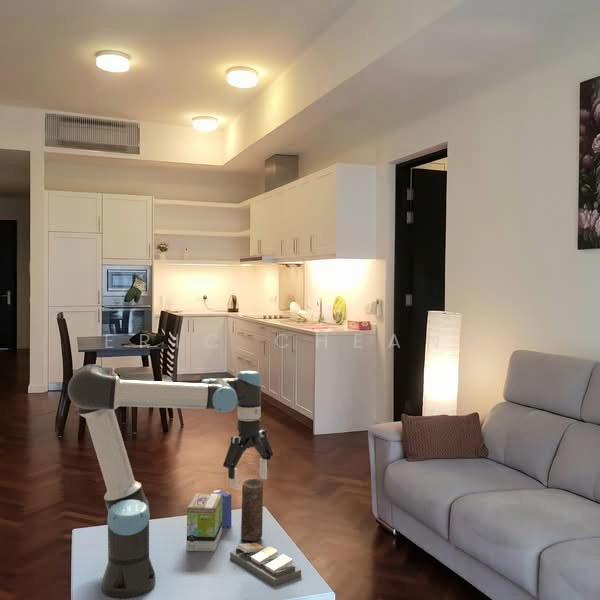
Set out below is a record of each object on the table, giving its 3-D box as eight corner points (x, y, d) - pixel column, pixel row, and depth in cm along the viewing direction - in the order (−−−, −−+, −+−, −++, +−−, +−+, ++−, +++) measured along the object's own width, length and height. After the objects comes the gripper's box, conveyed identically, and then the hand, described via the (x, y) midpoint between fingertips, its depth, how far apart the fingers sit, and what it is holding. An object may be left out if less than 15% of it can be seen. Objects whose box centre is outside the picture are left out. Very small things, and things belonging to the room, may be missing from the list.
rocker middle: (260, 565, 193) (259, 561, 193) (251, 560, 197) (250, 556, 197) (278, 554, 197) (277, 550, 197) (269, 549, 201) (268, 546, 201)
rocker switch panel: (274, 586, 185) (274, 575, 185) (230, 558, 203) (230, 548, 203) (301, 576, 191) (301, 565, 191) (255, 549, 210) (255, 540, 210)
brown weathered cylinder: (265, 536, 221) (265, 479, 220) (258, 544, 214) (258, 486, 213) (245, 533, 223) (245, 477, 222) (237, 542, 216) (237, 484, 215)
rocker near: (274, 574, 187) (274, 570, 187) (265, 568, 191) (264, 564, 191) (292, 562, 192) (292, 559, 191) (283, 557, 195) (283, 553, 195)
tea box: (216, 552, 208) (215, 507, 208) (185, 551, 208) (185, 507, 208) (222, 533, 223) (222, 492, 223) (194, 533, 223) (194, 492, 223)
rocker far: (245, 552, 199) (246, 548, 199) (237, 547, 202) (238, 543, 203) (263, 551, 203) (264, 547, 203) (255, 546, 207) (255, 542, 207)
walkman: (231, 526, 230) (231, 493, 230) (225, 528, 228) (225, 495, 228) (218, 520, 236) (218, 488, 235) (212, 522, 234) (212, 490, 233)
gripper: (228, 426, 194) (228, 495, 195) (283, 414, 213) (283, 477, 213) (212, 423, 199) (211, 489, 200) (267, 411, 218) (267, 472, 218)
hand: (248, 483), depth 206 cm, fingers open, 13 cm apart
